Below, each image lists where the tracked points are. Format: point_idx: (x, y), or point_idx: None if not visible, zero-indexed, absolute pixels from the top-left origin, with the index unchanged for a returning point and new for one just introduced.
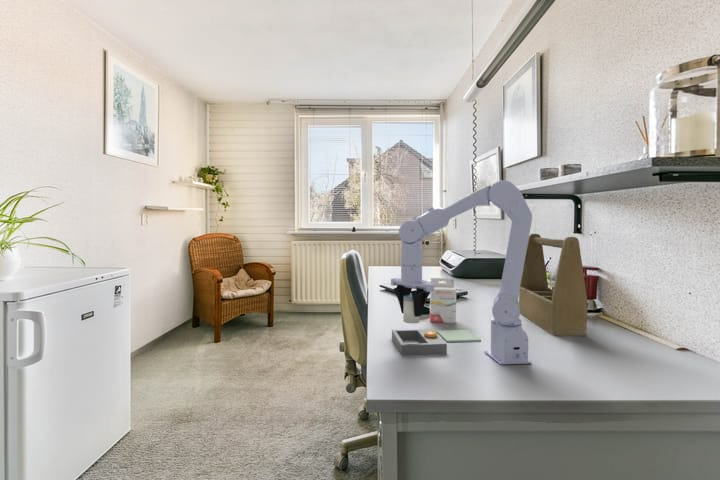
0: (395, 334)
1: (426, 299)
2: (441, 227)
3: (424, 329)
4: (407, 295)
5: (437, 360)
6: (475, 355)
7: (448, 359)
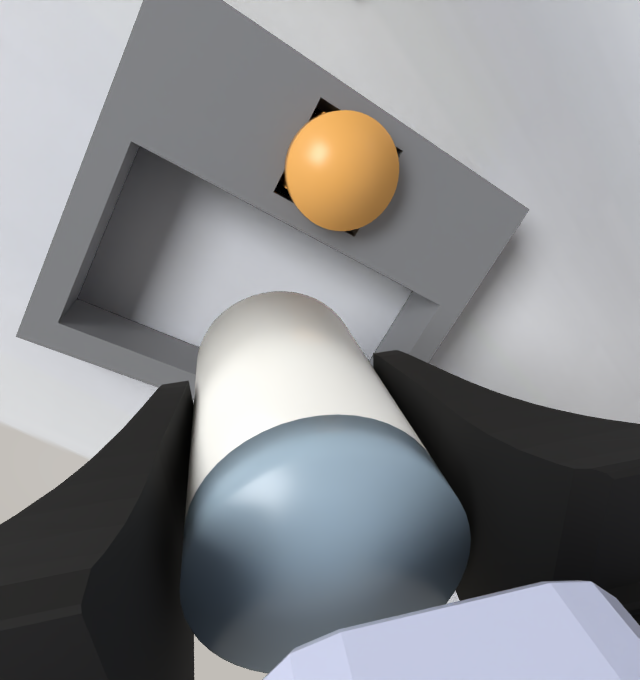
0: (150, 378)
1: (561, 415)
2: None
3: (137, 50)
4: (241, 604)
5: (519, 323)
6: (634, 67)
7: (551, 265)
